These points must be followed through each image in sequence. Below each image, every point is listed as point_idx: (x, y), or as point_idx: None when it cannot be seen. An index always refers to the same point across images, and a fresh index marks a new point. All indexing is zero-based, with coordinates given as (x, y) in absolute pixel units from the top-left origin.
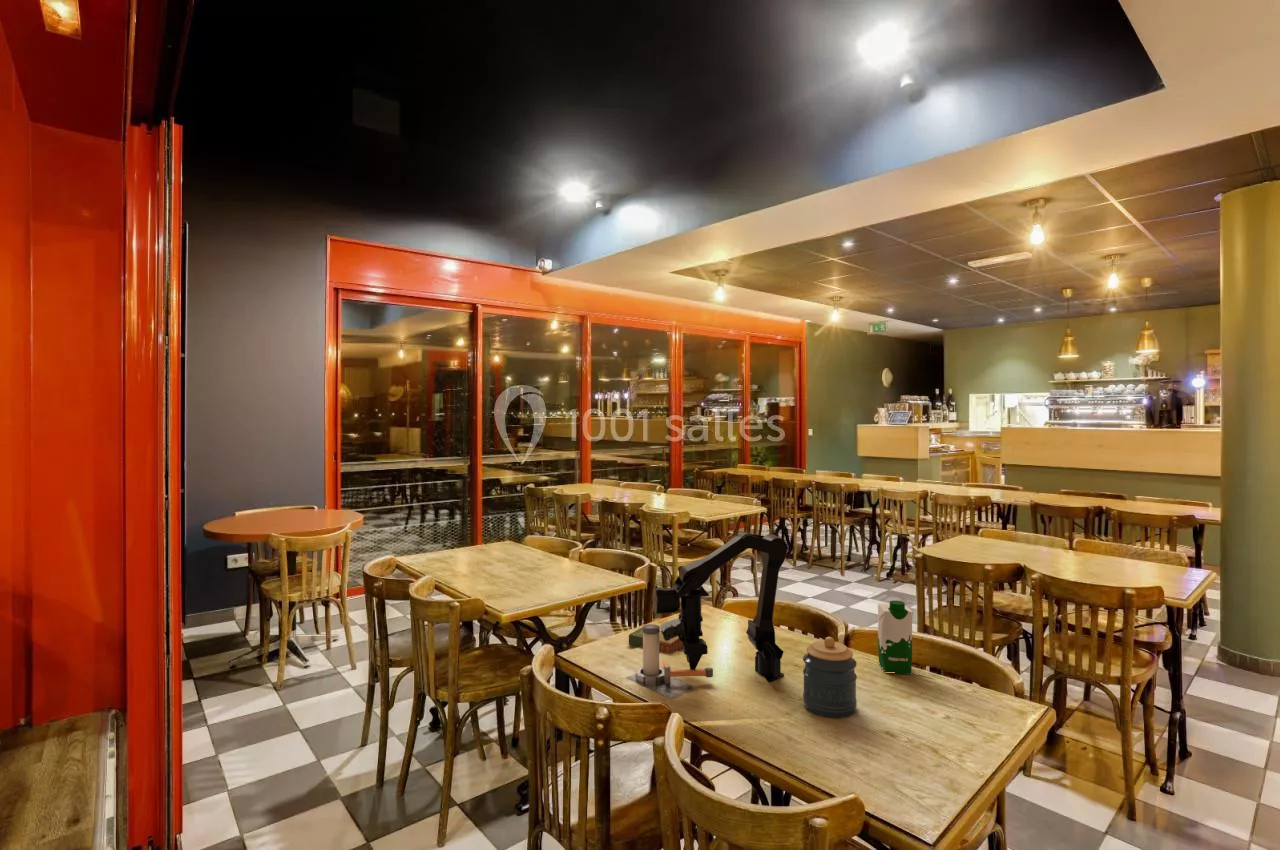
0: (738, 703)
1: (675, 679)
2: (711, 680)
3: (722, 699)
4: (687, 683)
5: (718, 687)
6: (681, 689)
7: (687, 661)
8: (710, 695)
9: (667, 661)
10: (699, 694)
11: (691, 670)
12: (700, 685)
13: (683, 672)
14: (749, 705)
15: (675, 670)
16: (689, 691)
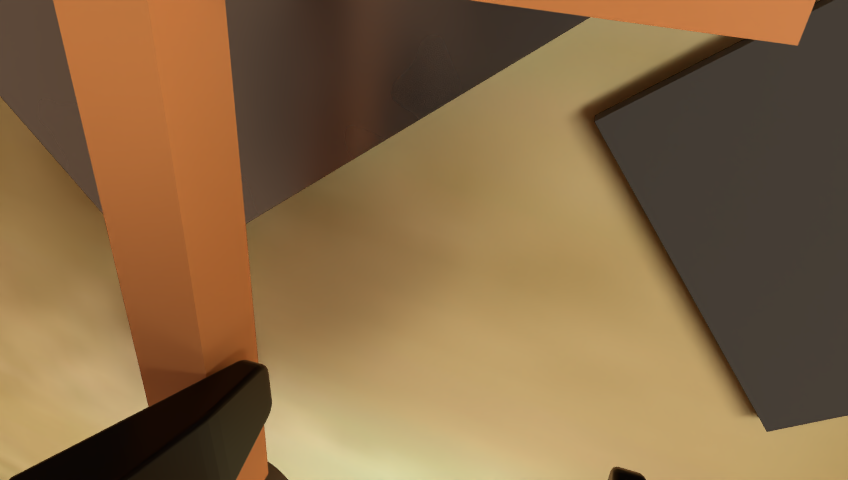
0: (21, 436)
1: (415, 71)
2: (432, 464)
3: (53, 376)
4: (269, 206)
5: (270, 446)
6: None
7: (614, 476)
8: (104, 325)
9: (776, 28)
10: (105, 243)
11: (160, 372)
12: (316, 330)
13: (124, 231)
14: (13, 473)
15: (122, 100)
16: (57, 157)
